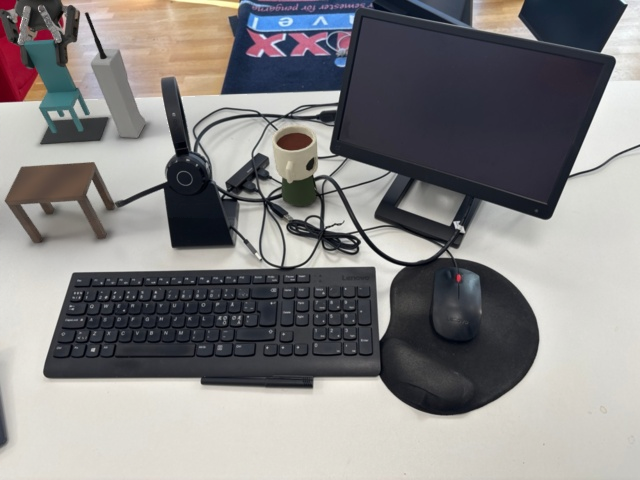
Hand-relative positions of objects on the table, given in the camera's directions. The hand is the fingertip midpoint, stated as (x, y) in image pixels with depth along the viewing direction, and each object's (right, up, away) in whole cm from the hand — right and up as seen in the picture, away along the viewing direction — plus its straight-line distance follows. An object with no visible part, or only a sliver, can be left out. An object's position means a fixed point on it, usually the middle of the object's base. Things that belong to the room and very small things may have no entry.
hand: (45, 66), depth 95 cm
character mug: (+47, -24, -3) cm, 53 cm away
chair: (+1, -8, +9) cm, 12 cm away
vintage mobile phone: (+12, -10, +12) cm, 19 cm away
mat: (0, -9, +12) cm, 15 cm away
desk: (+8, -29, -5) cm, 31 cm away
